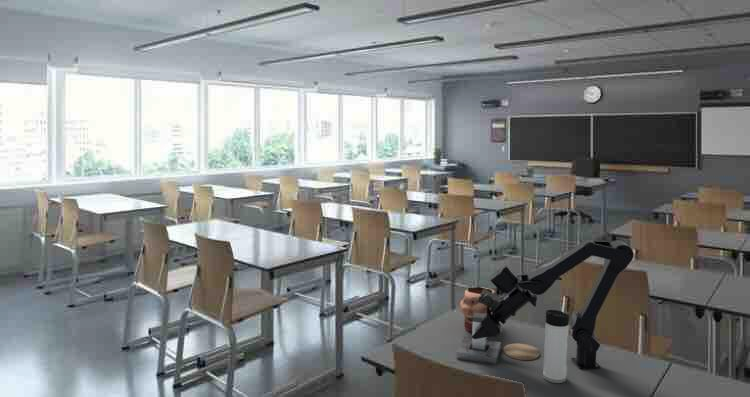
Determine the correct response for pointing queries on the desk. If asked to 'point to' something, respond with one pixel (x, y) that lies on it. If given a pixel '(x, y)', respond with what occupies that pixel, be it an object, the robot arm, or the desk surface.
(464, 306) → the decorative planter
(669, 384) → the desk surface
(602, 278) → the robot arm
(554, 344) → the travel mug
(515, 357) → the walnut coaster
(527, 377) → the desk surface
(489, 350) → the grey flat square frame
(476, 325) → the grey square bar
